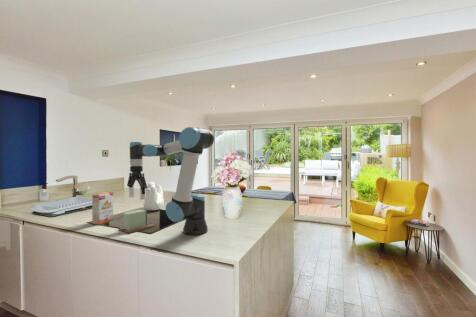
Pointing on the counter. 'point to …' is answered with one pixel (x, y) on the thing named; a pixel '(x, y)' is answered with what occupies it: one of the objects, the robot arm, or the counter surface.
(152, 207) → the decorative rooster
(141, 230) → the walnut board
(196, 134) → the robot arm
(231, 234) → the counter surface
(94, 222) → the cracker box
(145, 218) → the sage block
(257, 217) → the counter surface
